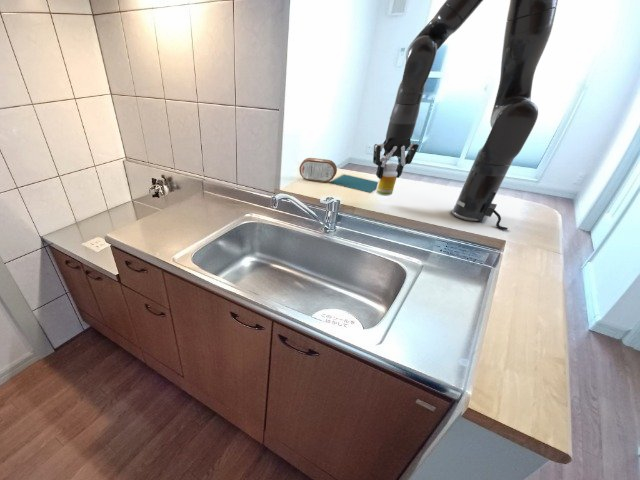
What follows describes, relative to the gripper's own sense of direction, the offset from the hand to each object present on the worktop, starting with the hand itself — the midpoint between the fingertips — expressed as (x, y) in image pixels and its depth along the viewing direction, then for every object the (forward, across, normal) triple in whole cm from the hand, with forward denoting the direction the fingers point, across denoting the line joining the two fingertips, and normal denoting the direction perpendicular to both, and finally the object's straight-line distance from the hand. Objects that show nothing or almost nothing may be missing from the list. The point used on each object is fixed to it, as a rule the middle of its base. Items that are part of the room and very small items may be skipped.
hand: (388, 177), depth 108 cm
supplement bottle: (+6, 0, 0) cm, 6 cm away
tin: (+9, -16, +27) cm, 33 cm away
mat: (+9, 0, +23) cm, 25 cm away
